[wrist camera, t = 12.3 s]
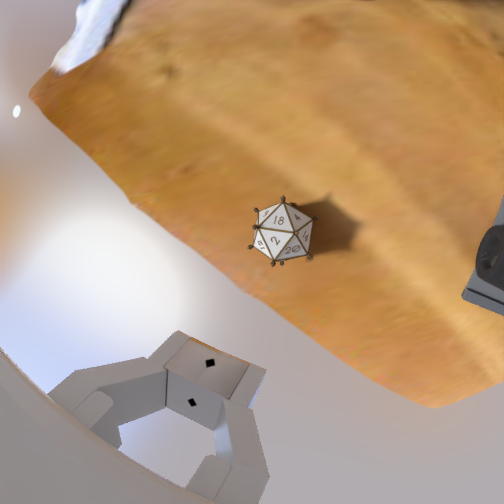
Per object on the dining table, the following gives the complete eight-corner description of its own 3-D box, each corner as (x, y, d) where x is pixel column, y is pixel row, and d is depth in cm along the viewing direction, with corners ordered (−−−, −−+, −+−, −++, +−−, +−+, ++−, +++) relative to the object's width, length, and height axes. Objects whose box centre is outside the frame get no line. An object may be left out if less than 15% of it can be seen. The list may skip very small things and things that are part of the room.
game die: (304, 208, 44) (338, 202, 34) (295, 267, 44) (327, 276, 35) (244, 196, 42) (264, 186, 32) (234, 258, 42) (252, 266, 32)
